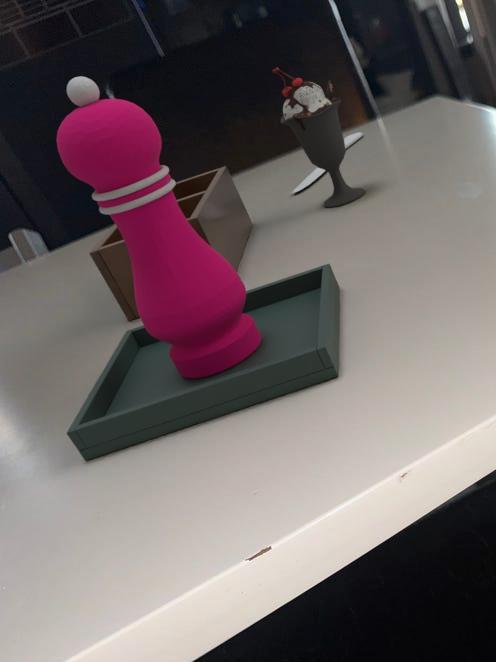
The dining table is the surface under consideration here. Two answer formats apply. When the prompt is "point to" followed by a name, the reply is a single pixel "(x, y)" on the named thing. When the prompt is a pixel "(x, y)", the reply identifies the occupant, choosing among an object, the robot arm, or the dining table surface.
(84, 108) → the pepper mill
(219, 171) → the divided box
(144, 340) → the tray
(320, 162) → the sundae
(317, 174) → the butter knife
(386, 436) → the dining table surface
